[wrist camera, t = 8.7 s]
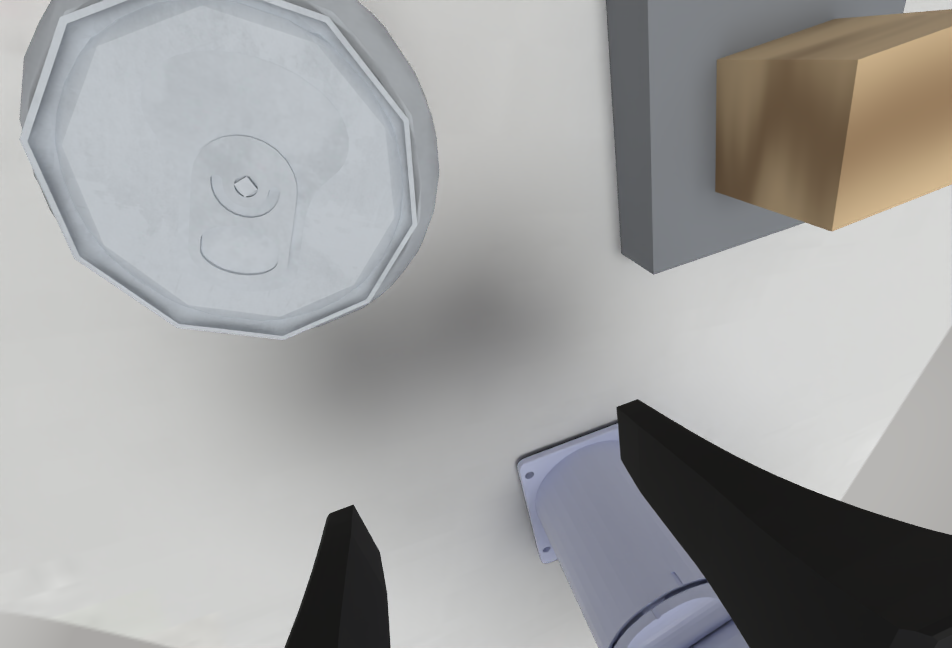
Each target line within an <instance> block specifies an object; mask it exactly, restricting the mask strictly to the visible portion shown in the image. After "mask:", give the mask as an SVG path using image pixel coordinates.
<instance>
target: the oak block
mask: <svg viewBox="0 0 952 648" xmlns="http://www.w3.org/2000/svg"><path fill="white" fill-rule="evenodd" d="M951 184H952V9H951V10H938V11H926V12H913V13H901V14H888V15H876V16H864V17H851V18H839V19H833V20H830V21H827V22H825V23H822V24H819V25H816V26H813V27H810V28H807V29H804V30H801V31H799V32H796V33H793V34H790V35H787V36H784V37H781V38H778V39H775V40H772V41H770V42H767V43H764V44H761V45H758V46H755V47H752V48H749V49H746V50H743V51H741V52H738V53H735V54H732V55H729V56H726V57H723V58H720V59H717V82H716V175H715V192H717V193H720V194H723V195H726V196H729V197H732V198H735V199H738V200H741V201H744V202H747V203H750V204H753V205H756V206H759V207H762V208H765V209H767V210H770V211H773V212H776V213H779V214H782V215H785V216H788V217H791V218H794V219H797V220H800V221H803V222H806V223H809V224H812V225H815V226H817V227H820V228H823V229H826V230H829V231H834V230H837V229H839V228H842V227H844V226H847V225H849V224H852V223H854V222H857V221H860V220H862V219H865V218H867V217H870V216H872V215H875V214H877V213H880V212H882V211H885V210H888V209H890V208H893V207H895V206H898V205H900V204H903V203H905V202H908V201H910V200H913V199H915V198H918V197H921V196H923V195H926V194H928V193H931V192H933V191H936V190H938V189H941V188H943V187H946V186H949V185H951Z"/></svg>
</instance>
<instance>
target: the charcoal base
mask: <svg viewBox="0 0 952 648" xmlns="http://www.w3.org/2000/svg"><path fill="white" fill-rule="evenodd" d="M905 2H906V0H606V8H607V25H608V41H609V57H610V74H611V90H612V106H613V123H614V139H615V155H616V172H617V188H618V204H619V221H620V237H621V253H622V254H623V255H625V256H626V257H628V258H629V259H631V260H632V261H634V262H635V263H637V264H638V265H640V266H641V267H643V268H644V269H646V270H647V271H649V272H650V273H652V274H653V275H654V274H657V273H660V272H663V271H665V270H668V269H671V268H674V267H677V266H680V265H683V264H686V263H689V262H692V261H695V260H697V259H700V258H703V257H706V256H709V255H712V254H715V253H718V252H721V251H724V250H727V249H729V248H732V247H735V246H738V245H741V244H744V243H747V242H750V241H753V240H756V239H759V238H761V237H764V236H767V235H770V234H773V233H776V232H779V231H782V230H785V229H788V228H791V227H793V226H796V225H799V224H802V223H805V222H803V221H800V220H797V219H794V218H791V217H788V216H785V215H782V214H779V213H776V212H773V211H770V210H767V209H765V208H762V207H759V206H756V205H753V204H750V203H747V202H744V201H741V200H738V199H735V198H732V197H729V196H726V195H723V194H720V193H717V192H715V175H716V82H717V59H720V58H723V57H726V56H729V55H732V54H735V53H738V52H741V51H743V50H746V49H749V48H752V47H755V46H758V45H761V44H764V43H767V42H770V41H772V40H775V39H778V38H781V37H784V36H787V35H790V34H793V33H796V32H799V31H801V30H804V29H807V28H810V27H813V26H816V25H819V24H822V23H825V22H827V21H830V20H833V19H839V18H851V17H864V16H876V15H888V14H901V13H903V11H904V7H905Z"/></svg>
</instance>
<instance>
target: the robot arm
mask: <svg viewBox="0 0 952 648" xmlns="http://www.w3.org/2000/svg"><path fill="white" fill-rule="evenodd" d="M617 418H618V423H617V424H614V425H612V426H609V427H606V428H604V429H601V430H598V431H596V432H593V433H590V434H588V435H585V436H582V437H580V438H577V439H574V440H572V441H569V442H566V443H564V444H561V445H558V446H556V447H553V448H550V449H548V450H545V451H542V452H540V453H537V454H534V455H532V456H529V457H526V458H524V459H522V460H521V461H520V462H519V463H518V465H517V469H518V473H519V477H520V481H521V485H522V489H523V493H524V497H525V501H526V505H527V509H528V513H529V517H530V521H531V525H532V529H533V533H534V537H535V541H536V545H537V549H538V553H539V557H540V559H541V561H542V563H550V562H553V561H555V560H557V559H558V561H559V563H560V565H561V567H562V569H563V572H564V574H565V576H566V578H567V580H568V582H569V585H570V587H571V589H572V591H573V593H574V596H575V598H576V600H577V602H578V604H579V606H580V609H581V611H582V613H583V615H584V617H585V620H586V622H587V624H588V626H589V628H590V630H591V633H592V635H593V637H594V639H595V641H596V643H597V645H598V647H599V648H952V535H949V534H945V533H941V532H937V531H933V530H929V529H926V528H922V527H918V526H915V525H912V524H908V523H905V522H902V521H898V520H895V519H892V518H889V517H885V516H882V515H879V514H876V513H873V512H870V511H867V510H864V509H861V508H858V507H855V506H853V505H850V504H847V503H844V502H841V501H839V500H836V499H833V498H830V497H827V496H824V495H822V494H819V493H817V492H814V491H812V490H809V489H807V488H804V487H802V486H799V485H797V484H795V483H792V482H790V481H788V480H785V479H783V478H781V477H778V476H776V475H774V474H772V473H769V472H767V471H765V470H763V469H761V468H759V467H757V466H755V465H753V464H751V463H749V462H747V461H745V460H743V459H741V458H739V457H737V456H735V455H733V454H731V453H729V452H727V451H725V450H723V449H721V448H720V447H718V446H716V445H714V444H712V443H711V442H709V441H707V440H705V439H703V438H702V437H700V436H698V435H696V434H695V433H693V432H691V431H689V430H688V429H686V428H684V427H683V426H681V425H679V424H678V423H676V422H674V421H673V420H671V419H669V418H668V417H666V416H664V415H663V414H661V413H659V412H658V411H656V410H655V409H653V408H651V407H650V406H648V405H646V404H645V403H643V402H641V401H640V400H638V399H637V400H634V401H632V402H629V403H626V404H624V405H621V406H618V407H617ZM528 472H529V473H528ZM285 648H390V632H389V616H388V601H387V591H386V585H385V579H384V573H383V567H382V562H381V556H380V552H379V550H378V548H377V546H376V544H375V543H374V541H373V539H372V537H371V535H370V534H369V532H368V530H367V528H366V526H365V525H364V523H363V521H362V519H361V517H360V516H359V514H358V512H357V510H356V508H355V506H354V505H351V506H349V507H346V508H343V509H340V510H338V511H335V512H332V513H330V514H329V515H328V517H327V519H326V523H325V527H324V531H323V535H322V538H321V542H320V546H319V549H318V553H317V556H316V559H315V563H314V566H313V569H312V572H311V576H310V579H309V582H308V585H307V588H306V591H305V594H304V597H303V600H302V603H301V606H300V608H299V611H298V614H297V617H296V619H295V622H294V624H293V627H292V630H291V632H290V635H289V637H288V640H287V643H286V645H285Z"/></svg>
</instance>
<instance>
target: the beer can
mask: <svg viewBox="0 0 952 648" xmlns="http://www.w3.org/2000/svg"><path fill="white" fill-rule="evenodd" d="M20 122H21V126H22V133H21V136H20V139H19V140H20V142H21V144H22V146H23V148H24V150H25V153H26V155H27V157H28V159H29V161H30V164H31V166H32V168H33V172H34V176H35V178H36V180H37V182H38V183H39V185H40V187H41V190H42V192H43V194H44V197H45V199H46V201H47V204H48V206H49V208H50V210H51V212H52V214H53V215H54V217H55V218H56V220H57V222H58V224H59V227H60V229H61V231H62V233H63V235H64V237H65V240H66V242H67V244H68V246H69V248H70V250H71V253H72V255H73V257H74V259H76V260H77V261H78V262H80V263H81V264H83V265H84V266H86V267H87V268H89V269H90V270H92V271H93V272H95V273H96V274H98V275H99V276H101V277H102V278H104V279H105V280H107V281H108V282H110V283H111V284H113V285H114V286H115V287H117V288H118V289H120V290H121V291H123V292H124V293H126V294H127V295H129V296H130V297H132V298H133V299H135V300H136V301H138V302H139V303H141V304H142V305H144V306H145V307H147V308H148V309H150V310H151V311H153V312H154V313H155V314H157V315H158V316H160V317H161V318H163V319H164V320H166V321H167V322H169V323H170V324H172V325H173V326H175V327H176V328H182V329H191V330H200V331H208V332H217V333H224V334H235V335H244V336H253V337H262V338H271V339H279V340H285V339H287V338H289V337H292V336H294V335H296V334H299V333H301V332H303V331H305V330H308V329H310V328H315V327H318V326H321V325H323V324H326V323H329V322H331V321H333V320H336V319H338V318H341V317H343V316H345V315H348V314H350V313H352V312H355V311H357V310H359V309H362V308H363V307H365V306H366V305H368V304H369V303H370V302H372V301H373V300H375V299H376V298H377V297H379V296H380V295H382V294H383V293H384V292H385V291H386V290H387V289H388V288H389V287H390V286H391V285H392V284H393V283H394V282H395V281H396V280H397V278H398V277H399V276H400V275H401V274H402V272H403V271H404V270H405V269H406V267H407V266H408V264H409V263H410V262H411V260H412V259H413V257H414V256H415V255H416V253H417V252H418V250H419V248H420V246H421V244H422V241H423V239H424V236H425V233H426V231H427V228H428V225H429V223H430V220H431V217H432V215H433V212H434V206H435V199H436V192H437V185H438V178H439V163H438V150H437V137H436V133H435V128H434V124H433V119H432V115H431V113H430V110H429V107H428V104H427V100H426V98H425V95H424V93H423V90H422V88H421V86H420V83H419V81H418V78H417V76H416V74H415V72H414V71H413V69H412V68H411V66H410V64H409V63H408V61H407V60H406V58H405V57H404V55H403V54H402V52H401V51H400V49H399V48H398V46H397V45H396V43H395V42H394V40H393V39H392V37H391V36H390V34H389V33H388V31H387V30H386V28H385V27H384V26H383V25H382V24H381V23H380V21H379V20H378V19H377V18H376V17H375V16H374V15H373V14H372V13H371V12H370V11H369V10H368V9H366V8H365V7H364V6H363V5H362V4H360V3H359V2H358V1H357V0H51V2H50V4H49V6H48V7H47V9H46V11H45V13H44V15H43V16H42V18H41V20H40V22H39V24H38V26H37V28H36V31H35V33H34V35H33V38H32V40H31V42H30V45H29V47H28V49H27V52H26V54H25V56H24V65H23V79H22V93H21V107H20Z"/></svg>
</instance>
